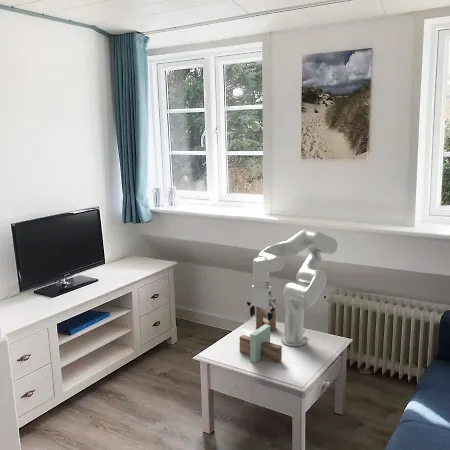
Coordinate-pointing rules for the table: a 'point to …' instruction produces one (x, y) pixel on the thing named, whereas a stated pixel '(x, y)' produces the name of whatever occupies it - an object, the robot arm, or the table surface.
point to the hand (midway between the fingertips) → (261, 317)
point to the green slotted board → (258, 342)
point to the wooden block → (262, 313)
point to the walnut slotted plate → (263, 349)
